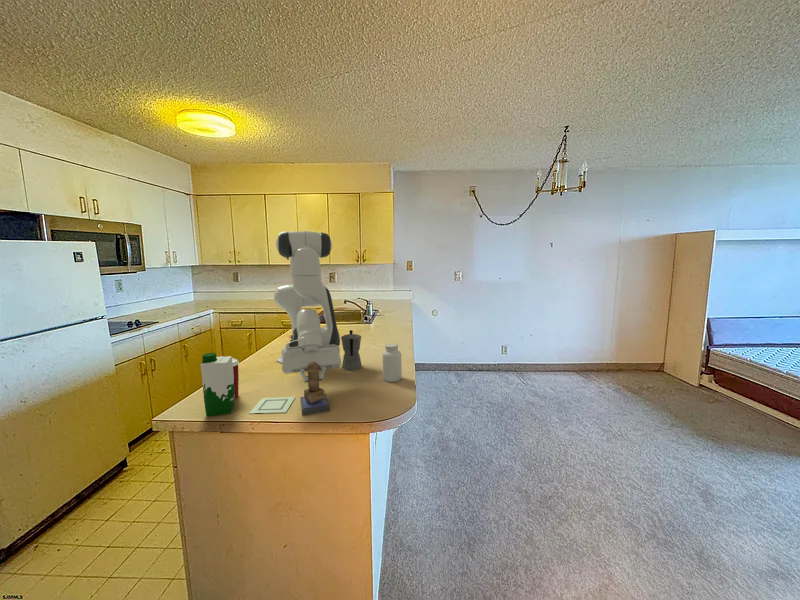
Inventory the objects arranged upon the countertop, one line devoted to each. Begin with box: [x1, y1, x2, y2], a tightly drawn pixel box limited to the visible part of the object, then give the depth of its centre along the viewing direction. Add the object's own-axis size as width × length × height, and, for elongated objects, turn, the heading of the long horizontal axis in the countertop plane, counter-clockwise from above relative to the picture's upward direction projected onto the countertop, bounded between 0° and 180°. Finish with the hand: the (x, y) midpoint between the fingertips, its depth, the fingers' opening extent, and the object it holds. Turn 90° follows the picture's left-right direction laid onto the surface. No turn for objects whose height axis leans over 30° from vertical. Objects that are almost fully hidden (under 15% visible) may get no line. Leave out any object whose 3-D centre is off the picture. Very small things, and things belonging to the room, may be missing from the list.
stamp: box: [303, 362, 325, 404], centre depth 114 cm, size 5×5×13 cm
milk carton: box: [200, 352, 236, 417], centre depth 111 cm, size 9×9×20 cm
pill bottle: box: [382, 343, 402, 383], centre depth 140 cm, size 8×8×15 cm
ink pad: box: [299, 393, 331, 416], centre depth 115 cm, size 11×9×2 cm
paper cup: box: [232, 357, 240, 399], centre depth 122 cm, size 8×8×14 cm
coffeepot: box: [340, 329, 362, 371], centre depth 154 cm, size 15×9×18 cm, turn 9°
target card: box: [249, 396, 296, 415], centre depth 116 cm, size 12×12×1 cm
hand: (313, 380), depth 113 cm, fingers closed on stamp, 4 cm apart
